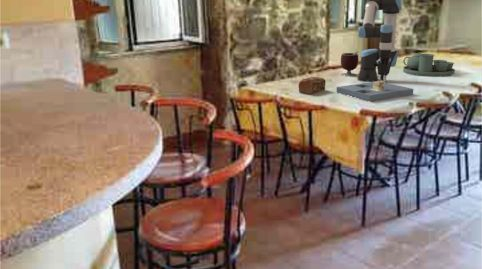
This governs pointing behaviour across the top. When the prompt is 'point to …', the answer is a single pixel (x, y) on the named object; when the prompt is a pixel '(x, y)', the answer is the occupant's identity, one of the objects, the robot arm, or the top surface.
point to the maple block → (378, 85)
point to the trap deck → (374, 91)
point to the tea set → (427, 66)
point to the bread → (312, 85)
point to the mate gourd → (349, 63)
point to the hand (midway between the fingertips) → (382, 85)
